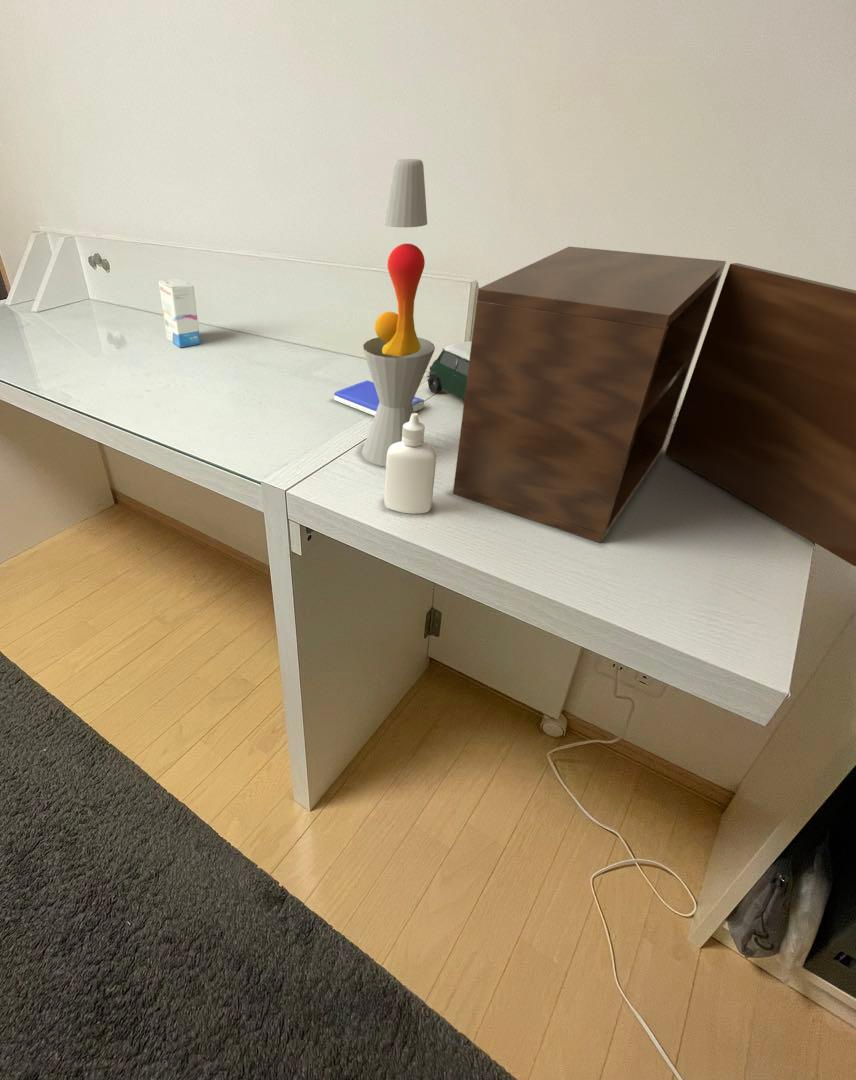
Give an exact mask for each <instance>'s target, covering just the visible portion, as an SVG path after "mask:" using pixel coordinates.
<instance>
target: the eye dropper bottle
mask: <svg viewBox="0 0 856 1080" xmlns="http://www.w3.org/2000/svg"><path fill="white" fill-rule="evenodd" d="M425 429H426V426H425V425H424V423H422V422H420V420H419V414H418V413H416V412H414V413H412V414H411V418H410V421H409V422H407V423H405V424H404V425H403V431H402V441H401V442H397V443H394V444H392V445H391V446H390V447H389V449H388V452H387V461H386V467H385V479H384V480H385V481H384V482H385V483H384V500H383V501H384V506H385V508H387V509H389V510H391V511H394V512H398V513H403V514H414V515H415V514H416V515H417V514H426V513H429V512H430V511H431V508H432V505H433V496H434V488H435V487H434V486H435V475H436V466H437V465H436V464H437V451H436V449H435V448H434V447H433V446H432V445H429V444H428V443H425V441H424V440H425Z"/></svg>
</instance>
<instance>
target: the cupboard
mask: <svg viewBox="0 0 856 1080" xmlns="http://www.w3.org/2000/svg"><path fill="white" fill-rule="evenodd" d="M726 264H727V261H726V260H718V259H717V260H716V259H706V258H698V257H697V258H696V257H686V256H685V257H684V256H675V255H674V256H672V255H665V254H664V255H663V254H655V253H654V254H653V253H643V252H634V251H622V250H611V249H600V248H590V247H579V246H566V247H565V248H563V249H560V250H559V251H555V252H553V253H552V254H550V255H547V256H546V257H544V258H541V259H539V260H538V261H535V262H533V263H530V264H528V265H526V266H524V267H522V268H519V269H518V270H515V271H513V272H511V273H509V274H507V275H504V276H502V277H500V278H498V279H495V280H494V281H492V282H489V283H487V284H484V285H483V286H481V287H478V289H477V290H478V291H477V295H476V303H475V311H474V321H473V328H472V337H471V338H472V339H471V342H472V344H471V352H470V360H469V368H468V376H467V384H466V392H465V400H463V408H462V417H461V425H460V432H459V440H458V441H459V442H458V450H457V457H456V465H455V473H454V481H453V490H452V494H453V495H456V496H458V497H461V498H464V499H468V500H470V501H472V502H473V501H474V502H476V503H479V504H482V505H485V506H487V507H491V508H495V509H496V510H500V511H503V512H506V513H509V514H512V515H515V516H517V517H521V518H525V519H527V520H530V521H533V522H536V523H539V524H542V525H546V526H548V527H551V528H554V529H557V530H559V531H563V532H565V533H569V534H571V535H574V536H577V537H581V538H583V539H587V540H589V541H593V542H596V543H599V544H601V543H602V542H603V540H604V539H605V537H606V535H608V533H609V531H610V530H611V529H612V526H613V525H614V523H615V522H616V521H617V519H618V518H619V517H620V515H621V513H622V512H623V511H624V509H625V507H626V506H627V504H629V501H630V500H631V498H633V495H634V494H635V493H636V491H637V490H638V488H639V487H640V485H641V484H642V482H643V481H644V479H645V478H646V476H647V475H648V473H649V472H650V470H651V469H652V467H653V466H654V464H655V463H656V461H658V460H657V459H658V458H659V457H660V455H661V453H662V452H663V449H664V447H665V443H666V440H667V437H668V435H669V431H670V428H671V425H672V422H673V419H674V417H675V414H676V411H677V408H678V405H679V402H680V399H681V395H682V393H683V391H684V387H685V384H686V381H687V379H688V375H689V373H690V369H691V368H692V367H691V366H692V363H693V362H694V361H693V360H694V357H695V355H696V353H697V349H698V347H699V343H700V341H701V337H702V334H703V331H704V329H705V325H706V322H707V319H708V316H709V313H710V311H711V308H712V304H713V302H714V299H715V296H716V294H717V290H718V287H719V284H720V281H721V279H722V275H723V272H724V269H725V267H726Z"/></svg>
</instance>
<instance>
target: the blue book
mask: <svg viewBox="0 0 856 1080" xmlns="http://www.w3.org/2000/svg"><path fill="white" fill-rule="evenodd" d="M333 400H334V401H335V402H338V403H341V404H343V405H346V406H347V407H351V408H353V409H356V410H358V411H361V412H363V413H366V414H368V415H371V416H375V413H376V411H377V408H378V405H379V402H380V401H379V398H378V395H377V392H376V388H375V385H374V382H373V381H370V380H364V381H360V382H359V383H356V384H352V385H350V386H348V387H345V388H342V389H340V390H336V391H335V392H334V393H333ZM412 406H413V410H414V413H416V412H418V411H421V410H422V409H423V408H424V406H425V400H424V399H422V398H420V397H416V396H414V399H413V401H412Z"/></svg>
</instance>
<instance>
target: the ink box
mask: <svg viewBox="0 0 856 1080" xmlns="http://www.w3.org/2000/svg"><path fill="white" fill-rule="evenodd" d="M158 287H159V293H160V300H161V308H162V314H163V315H162V316H163V322H164V328H165V335H166V336H165V337H166V339H168V340H169V341H170V342H172V343H173V344H174V345H175V346H177V347H178V348H185V347H190V346H197V345H200V344H201V337H200V328H199V327H200V326H199V319H198V311H197V301H196V293H195V287H194V285H193V284H191V283H189V282H188V281H185V280H184V279H181V278H172V279H169V278H168V279H161V280H158Z"/></svg>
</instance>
